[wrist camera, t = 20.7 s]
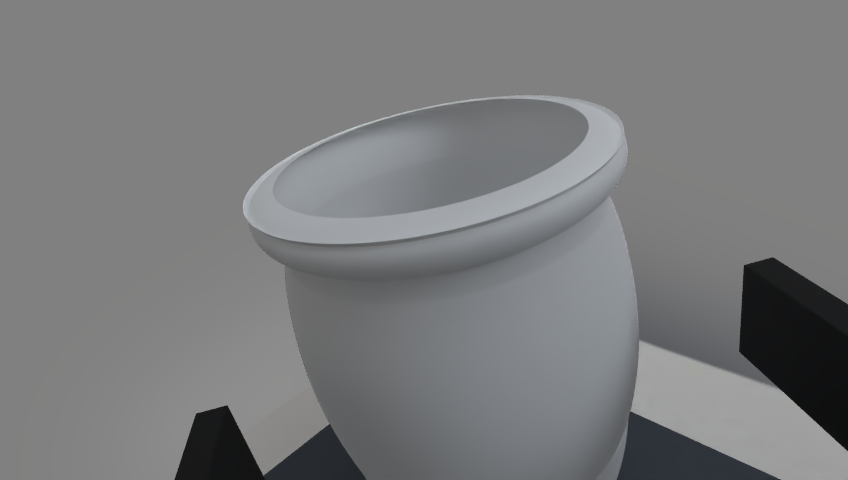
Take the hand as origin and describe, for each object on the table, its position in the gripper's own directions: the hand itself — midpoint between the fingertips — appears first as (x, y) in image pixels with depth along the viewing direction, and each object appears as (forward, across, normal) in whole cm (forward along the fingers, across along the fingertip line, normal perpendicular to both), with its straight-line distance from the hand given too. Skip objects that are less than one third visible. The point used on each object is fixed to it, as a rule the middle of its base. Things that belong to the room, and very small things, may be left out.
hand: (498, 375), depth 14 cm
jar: (+4, 0, -10) cm, 11 cm away
